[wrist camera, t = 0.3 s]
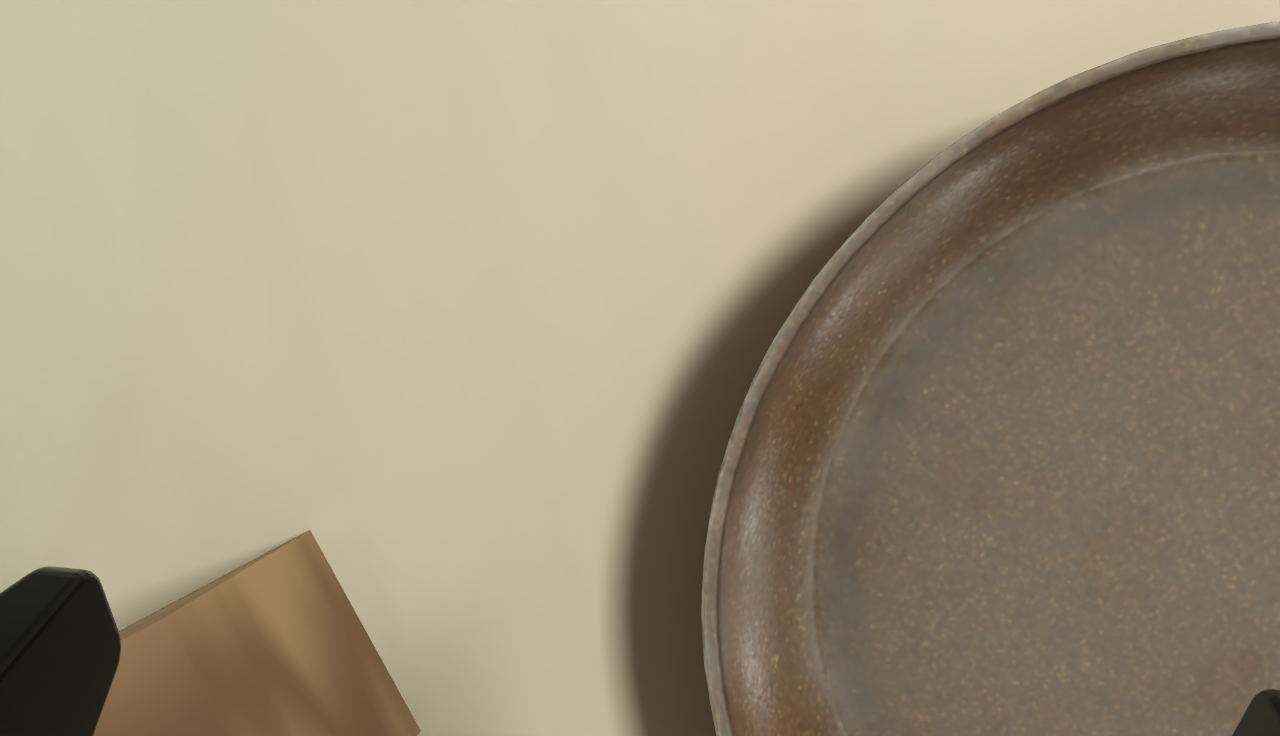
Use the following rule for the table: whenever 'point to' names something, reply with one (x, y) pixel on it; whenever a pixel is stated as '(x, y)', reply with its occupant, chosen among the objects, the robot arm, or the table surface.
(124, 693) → the walnut block
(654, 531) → the table surface
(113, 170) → the table surface
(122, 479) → the table surface
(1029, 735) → the plant saucer
